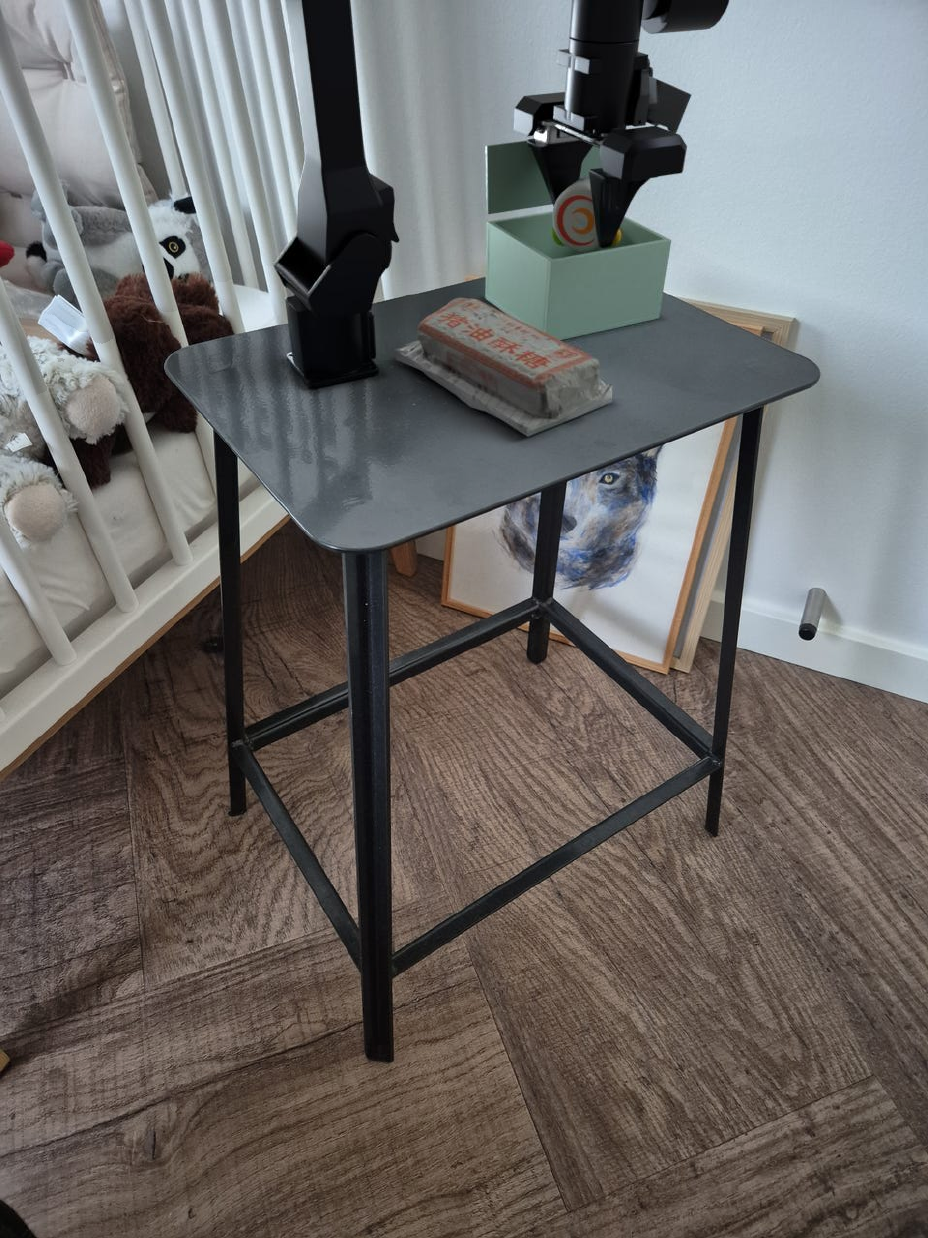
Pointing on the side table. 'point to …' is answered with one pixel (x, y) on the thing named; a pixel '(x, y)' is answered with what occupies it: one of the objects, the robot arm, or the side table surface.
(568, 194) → the roller toy
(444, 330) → the packaged product
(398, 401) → the side table surface
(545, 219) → the pale green hollow box
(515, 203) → the green box lid
